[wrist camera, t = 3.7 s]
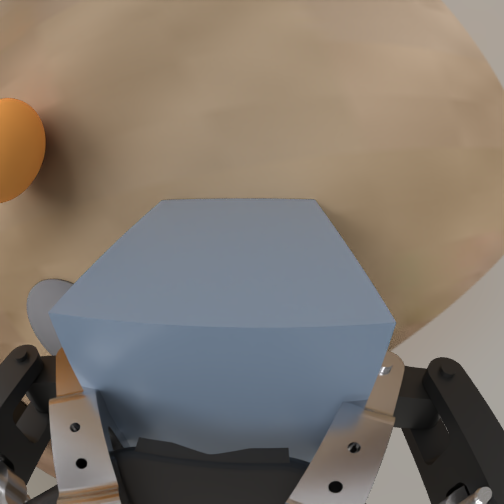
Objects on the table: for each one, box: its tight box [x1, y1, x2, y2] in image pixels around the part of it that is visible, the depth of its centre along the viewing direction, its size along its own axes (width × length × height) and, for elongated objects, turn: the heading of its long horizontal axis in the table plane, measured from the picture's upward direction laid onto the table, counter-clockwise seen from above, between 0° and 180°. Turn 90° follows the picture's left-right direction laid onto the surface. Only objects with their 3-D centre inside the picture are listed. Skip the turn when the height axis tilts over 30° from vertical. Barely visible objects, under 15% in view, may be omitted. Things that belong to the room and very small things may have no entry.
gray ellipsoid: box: [27, 279, 73, 356], centre depth 16 cm, size 8×8×1 cm
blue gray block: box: [48, 199, 396, 463], centre depth 10 cm, size 7×7×9 cm
